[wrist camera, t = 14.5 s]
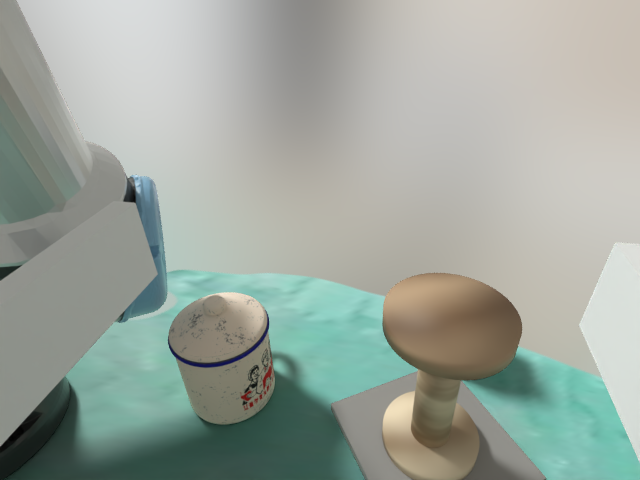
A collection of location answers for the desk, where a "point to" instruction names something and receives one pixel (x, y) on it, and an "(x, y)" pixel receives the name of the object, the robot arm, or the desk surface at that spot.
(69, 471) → the desk surface
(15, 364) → the robot arm
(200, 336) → the teacup with lid
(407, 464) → the stool
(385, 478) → the mat
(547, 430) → the desk surface
